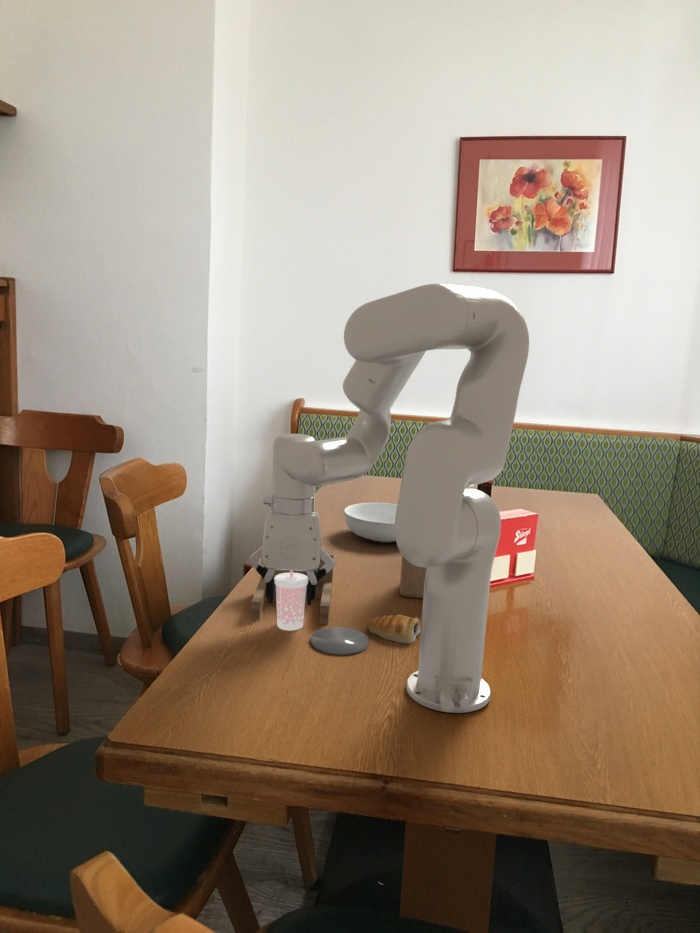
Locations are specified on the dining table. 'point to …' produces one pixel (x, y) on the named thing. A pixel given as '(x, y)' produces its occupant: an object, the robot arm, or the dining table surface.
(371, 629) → the pastry
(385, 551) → the dining table surface
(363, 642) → the coaster
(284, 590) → the beverage cup
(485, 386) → the robot arm
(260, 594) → the rack
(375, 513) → the serving bowl
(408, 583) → the block
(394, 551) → the dining table surface
